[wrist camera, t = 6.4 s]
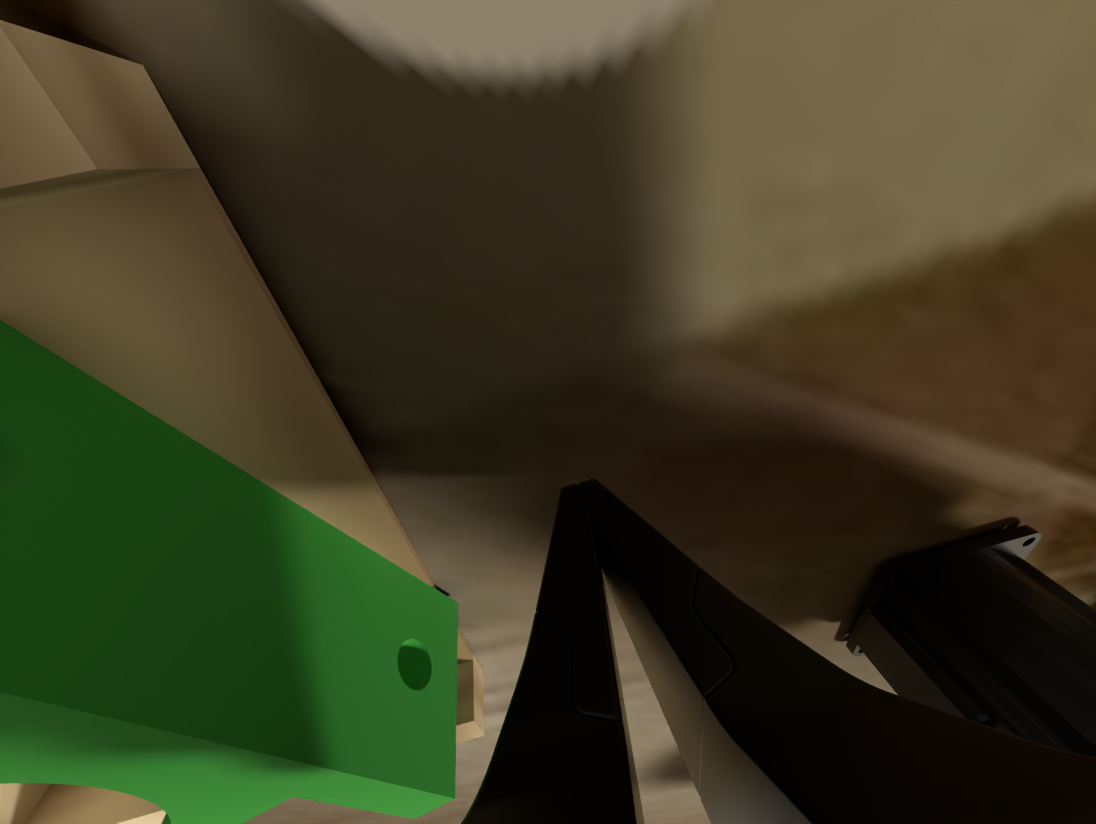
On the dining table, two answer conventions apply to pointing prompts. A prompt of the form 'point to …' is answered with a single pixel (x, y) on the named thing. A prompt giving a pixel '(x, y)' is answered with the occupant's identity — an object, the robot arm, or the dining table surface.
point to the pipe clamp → (200, 623)
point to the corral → (163, 320)
